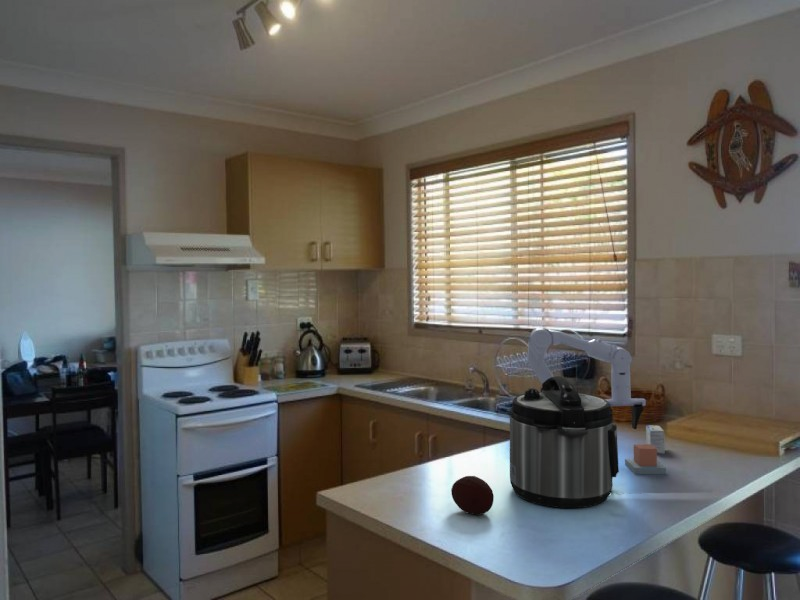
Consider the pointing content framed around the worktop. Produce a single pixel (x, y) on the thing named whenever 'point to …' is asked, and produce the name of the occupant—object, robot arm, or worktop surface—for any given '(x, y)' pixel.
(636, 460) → the red cube
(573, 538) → the worktop surface
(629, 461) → the top block
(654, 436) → the medicine box
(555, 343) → the robot arm
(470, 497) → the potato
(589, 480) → the pressure cooker
